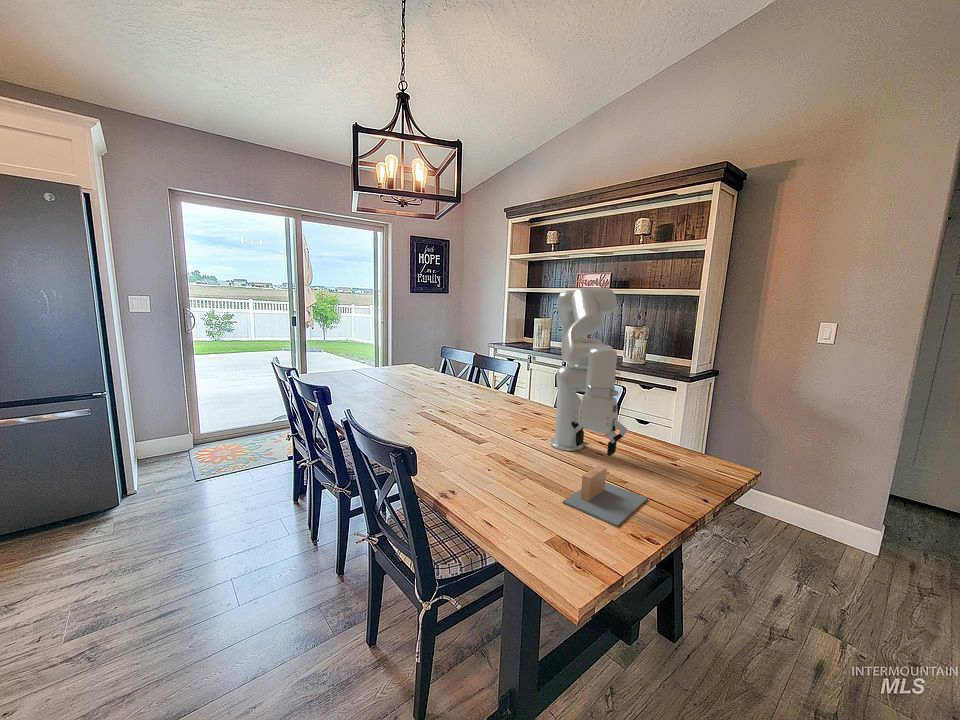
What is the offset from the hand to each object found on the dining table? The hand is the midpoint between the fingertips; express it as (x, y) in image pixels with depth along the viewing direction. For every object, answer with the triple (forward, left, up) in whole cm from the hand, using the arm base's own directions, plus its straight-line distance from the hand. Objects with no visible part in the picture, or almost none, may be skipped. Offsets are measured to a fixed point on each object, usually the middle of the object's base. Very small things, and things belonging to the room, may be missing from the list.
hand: (594, 449), depth 113 cm
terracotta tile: (0, +1, -14) cm, 14 cm away
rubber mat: (0, +5, -14) cm, 15 cm away
